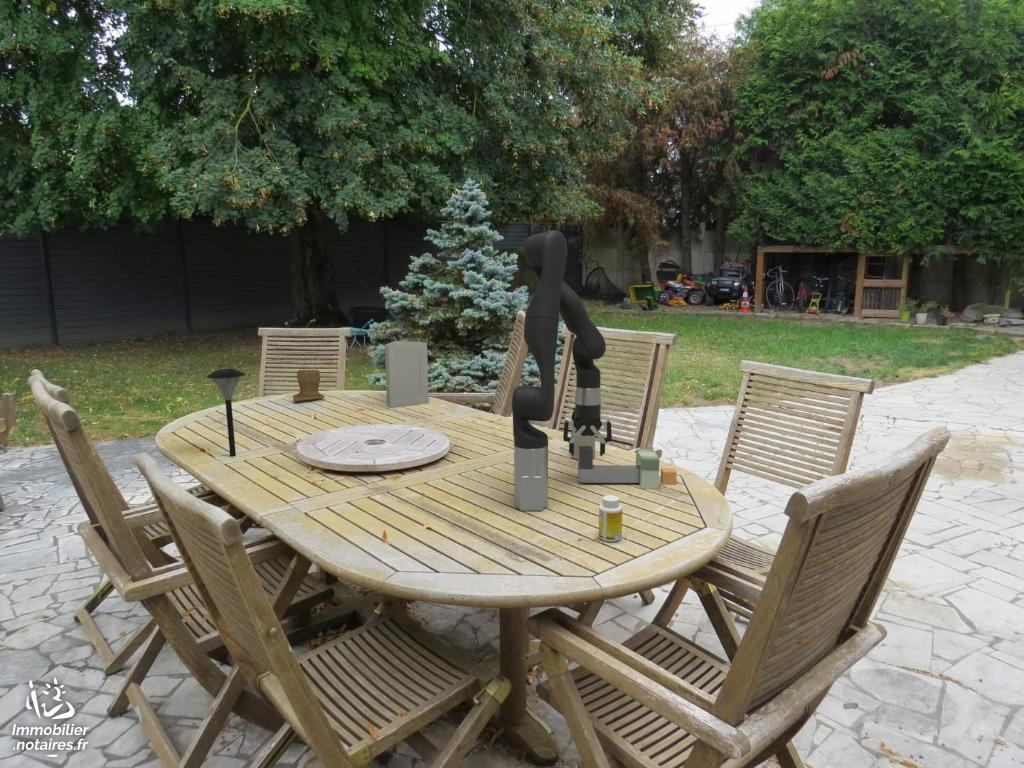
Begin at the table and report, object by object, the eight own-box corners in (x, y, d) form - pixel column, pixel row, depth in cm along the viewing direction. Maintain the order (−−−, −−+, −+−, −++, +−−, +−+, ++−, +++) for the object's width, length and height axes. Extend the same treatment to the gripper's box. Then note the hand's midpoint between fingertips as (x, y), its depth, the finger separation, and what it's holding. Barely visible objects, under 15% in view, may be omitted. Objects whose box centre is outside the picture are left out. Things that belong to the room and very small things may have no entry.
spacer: (662, 484, 205) (676, 485, 205) (663, 472, 204) (676, 472, 204) (660, 480, 209) (673, 480, 209) (661, 468, 208) (674, 468, 208)
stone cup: (318, 396, 336) (316, 365, 333) (327, 400, 326) (325, 369, 323) (287, 400, 327) (285, 369, 324) (295, 404, 317) (293, 372, 315)
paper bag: (416, 397, 331) (414, 339, 326) (429, 403, 318) (427, 343, 313) (378, 402, 321) (376, 342, 316) (390, 408, 309) (388, 346, 303)
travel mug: (598, 456, 234) (599, 404, 231) (588, 462, 227) (589, 409, 224) (577, 452, 238) (578, 402, 235) (567, 458, 231) (567, 406, 228)
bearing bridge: (658, 488, 202) (659, 459, 200) (641, 488, 202) (642, 459, 200) (651, 476, 212) (652, 448, 210) (635, 476, 212) (636, 448, 211)
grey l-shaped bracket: (652, 482, 205) (654, 449, 203) (579, 482, 205) (579, 449, 203) (650, 478, 209) (651, 446, 207) (577, 478, 209) (578, 446, 207)
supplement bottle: (626, 537, 167) (627, 497, 165) (612, 544, 163) (613, 503, 161) (607, 531, 171) (608, 492, 169) (593, 538, 167) (594, 498, 165)
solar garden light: (212, 454, 239) (204, 369, 233) (249, 449, 244) (243, 366, 239) (215, 463, 228) (207, 374, 222) (254, 458, 233) (247, 371, 228)
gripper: (564, 404, 199) (563, 458, 202) (613, 404, 198) (612, 458, 201) (563, 399, 206) (562, 451, 209) (611, 399, 206) (609, 452, 208)
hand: (587, 455), depth 205 cm, fingers open, 8 cm apart
